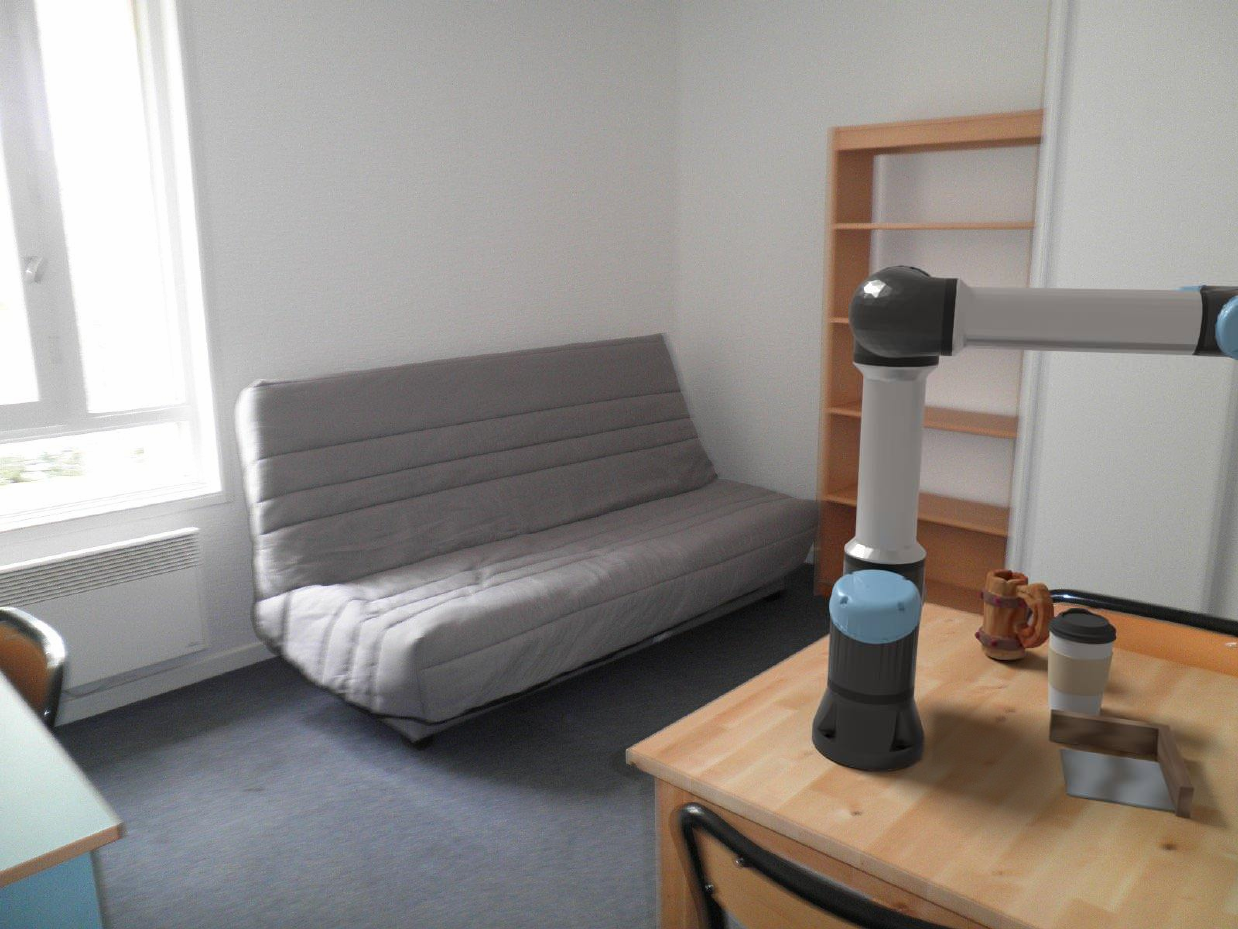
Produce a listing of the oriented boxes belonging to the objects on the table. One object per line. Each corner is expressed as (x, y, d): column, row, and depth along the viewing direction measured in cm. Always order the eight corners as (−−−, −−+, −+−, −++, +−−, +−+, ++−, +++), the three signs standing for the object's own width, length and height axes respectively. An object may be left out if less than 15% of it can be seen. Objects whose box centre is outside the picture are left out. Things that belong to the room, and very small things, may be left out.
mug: (963, 647, 171) (970, 564, 167) (1003, 641, 173) (1010, 559, 170) (1021, 683, 157) (1029, 592, 154) (1063, 676, 160) (1073, 587, 156)
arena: (1057, 796, 125) (1060, 767, 124) (1048, 735, 141) (1051, 709, 140) (1189, 818, 120) (1194, 788, 120) (1165, 752, 136) (1169, 725, 135)
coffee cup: (1114, 728, 143) (1126, 629, 139) (1047, 722, 144) (1057, 625, 141) (1098, 700, 151) (1108, 606, 148) (1034, 694, 153) (1044, 602, 150)
